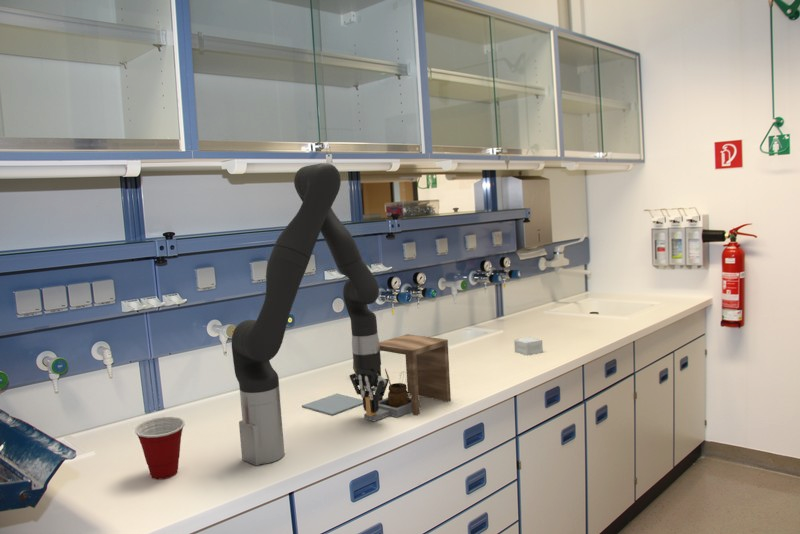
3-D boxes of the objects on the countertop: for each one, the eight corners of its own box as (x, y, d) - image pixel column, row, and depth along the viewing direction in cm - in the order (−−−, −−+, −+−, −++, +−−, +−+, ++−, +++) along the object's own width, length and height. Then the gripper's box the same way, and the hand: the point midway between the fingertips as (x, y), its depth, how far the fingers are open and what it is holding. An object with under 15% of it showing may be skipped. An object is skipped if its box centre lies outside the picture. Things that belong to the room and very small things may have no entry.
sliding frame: (381, 423, 168) (380, 401, 167) (356, 416, 175) (355, 394, 174) (420, 407, 179) (419, 386, 179) (395, 401, 186) (394, 381, 185)
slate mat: (332, 415, 177) (332, 414, 177) (301, 407, 187) (301, 405, 187) (367, 402, 187) (367, 401, 187) (337, 394, 197) (337, 393, 197)
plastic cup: (146, 489, 136) (140, 436, 135) (134, 474, 144) (129, 424, 143) (195, 474, 142) (191, 424, 141) (181, 460, 151) (176, 412, 150)
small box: (543, 353, 235) (542, 339, 235) (526, 356, 232) (526, 342, 232) (530, 349, 242) (529, 336, 242) (514, 352, 239) (513, 339, 238)
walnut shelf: (416, 415, 173) (412, 350, 171) (375, 405, 184) (371, 344, 182) (450, 400, 184) (447, 339, 183) (410, 392, 195) (407, 334, 194)
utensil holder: (409, 411, 177) (406, 370, 175) (387, 413, 177) (384, 371, 176) (409, 405, 182) (406, 365, 181) (387, 406, 183) (385, 366, 181)
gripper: (339, 350, 172) (344, 410, 174) (374, 356, 162) (379, 420, 164) (358, 344, 177) (364, 402, 179) (393, 349, 168) (398, 411, 170)
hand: (371, 410), depth 172 cm, fingers closed on sliding frame, 2 cm apart
